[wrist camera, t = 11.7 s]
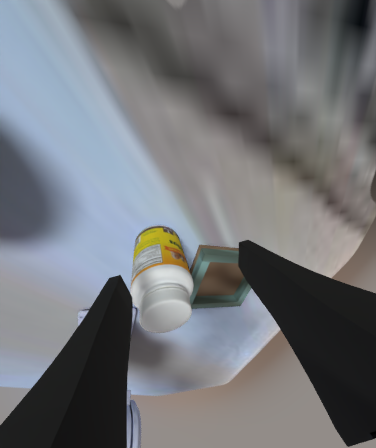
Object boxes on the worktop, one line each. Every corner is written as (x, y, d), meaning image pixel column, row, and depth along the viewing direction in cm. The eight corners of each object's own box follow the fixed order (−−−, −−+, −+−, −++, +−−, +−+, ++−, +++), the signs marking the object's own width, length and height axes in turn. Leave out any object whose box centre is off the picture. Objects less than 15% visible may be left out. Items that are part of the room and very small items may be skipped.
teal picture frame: (236, 298, 31) (240, 306, 30) (179, 300, 27) (181, 310, 26) (264, 250, 26) (271, 257, 25) (199, 244, 22) (203, 252, 21)
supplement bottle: (183, 248, 22) (209, 321, 13) (146, 263, 22) (148, 347, 13) (169, 215, 19) (190, 281, 10) (126, 232, 19) (111, 315, 10)
